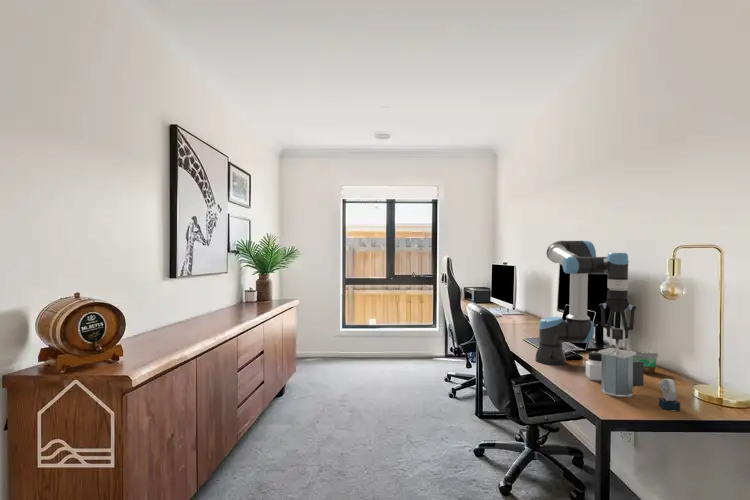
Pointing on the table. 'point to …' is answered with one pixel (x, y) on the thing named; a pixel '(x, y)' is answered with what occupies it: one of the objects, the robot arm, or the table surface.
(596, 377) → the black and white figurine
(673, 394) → the watch
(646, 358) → the food container
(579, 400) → the table surface
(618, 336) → the plunger
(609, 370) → the press
